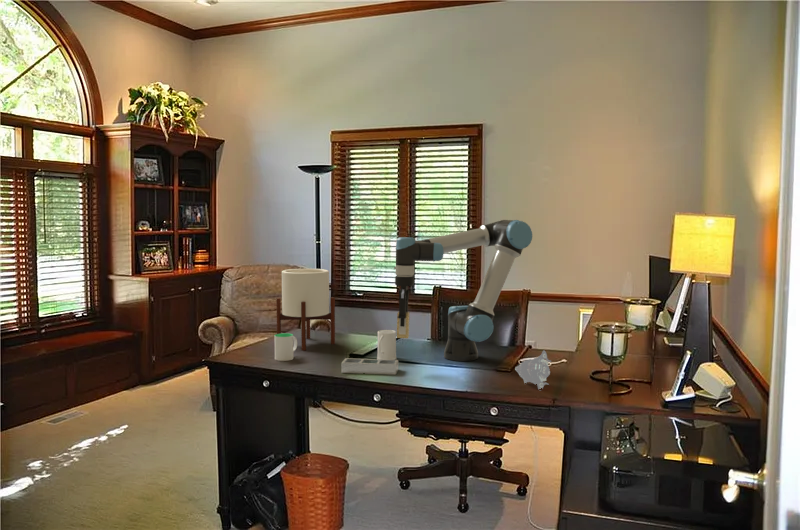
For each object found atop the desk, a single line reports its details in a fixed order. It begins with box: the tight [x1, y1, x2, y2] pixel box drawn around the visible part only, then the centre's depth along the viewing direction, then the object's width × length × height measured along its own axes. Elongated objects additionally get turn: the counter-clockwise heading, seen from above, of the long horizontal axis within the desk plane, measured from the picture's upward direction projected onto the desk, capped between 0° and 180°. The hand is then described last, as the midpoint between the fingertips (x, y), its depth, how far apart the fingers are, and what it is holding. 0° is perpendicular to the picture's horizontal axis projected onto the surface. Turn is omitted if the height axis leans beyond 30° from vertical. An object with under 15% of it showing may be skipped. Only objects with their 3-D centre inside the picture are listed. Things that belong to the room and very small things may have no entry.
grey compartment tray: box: [340, 357, 399, 376], centre depth 254 cm, size 22×8×4 cm, turn 83°
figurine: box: [514, 350, 552, 390], centre depth 233 cm, size 10×15×14 cm
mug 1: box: [273, 332, 298, 362], centre depth 276 cm, size 12×8×10 cm
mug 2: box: [376, 329, 397, 360], centre depth 274 cm, size 12×8×12 cm
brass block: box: [396, 311, 411, 339], centre depth 255 cm, size 4×4×10 cm
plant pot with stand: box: [275, 268, 336, 352], centre depth 303 cm, size 22×22×36 cm
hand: (402, 332), depth 255 cm, fingers closed on brass block, 4 cm apart
